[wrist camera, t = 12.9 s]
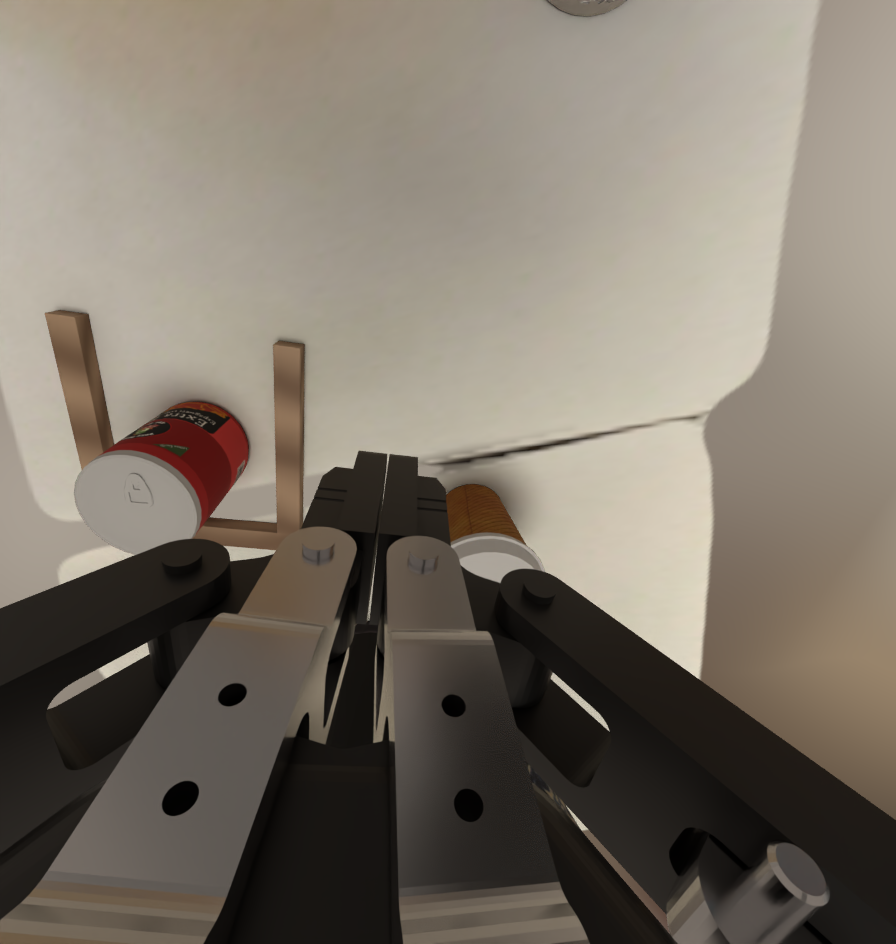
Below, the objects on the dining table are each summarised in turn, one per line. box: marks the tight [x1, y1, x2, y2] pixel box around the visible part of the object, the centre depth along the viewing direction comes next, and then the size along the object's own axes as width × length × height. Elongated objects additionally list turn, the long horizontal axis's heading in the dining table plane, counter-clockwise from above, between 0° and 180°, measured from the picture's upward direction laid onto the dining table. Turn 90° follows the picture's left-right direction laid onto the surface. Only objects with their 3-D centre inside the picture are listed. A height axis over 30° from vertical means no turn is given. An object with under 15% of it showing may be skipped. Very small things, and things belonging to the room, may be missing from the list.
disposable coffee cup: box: [446, 484, 545, 583], centre depth 39 cm, size 10×10×12 cm
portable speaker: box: [325, 621, 379, 749], centre depth 43 cm, size 9×9×20 cm
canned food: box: [74, 402, 249, 555], centre depth 35 cm, size 8×8×11 cm
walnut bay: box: [45, 310, 305, 550], centre depth 39 cm, size 20×18×2 cm
